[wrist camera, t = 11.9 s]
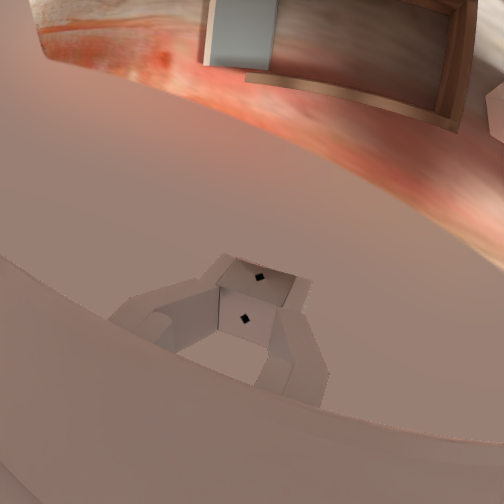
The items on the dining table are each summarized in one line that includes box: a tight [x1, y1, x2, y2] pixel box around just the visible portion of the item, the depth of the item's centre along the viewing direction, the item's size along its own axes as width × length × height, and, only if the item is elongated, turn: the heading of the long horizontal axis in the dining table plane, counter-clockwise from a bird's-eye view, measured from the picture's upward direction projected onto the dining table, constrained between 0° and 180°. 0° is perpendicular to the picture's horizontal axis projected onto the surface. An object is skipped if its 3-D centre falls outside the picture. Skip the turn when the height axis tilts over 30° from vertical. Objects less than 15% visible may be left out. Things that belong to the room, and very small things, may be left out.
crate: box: [245, 0, 478, 134], centre depth 24 cm, size 20×14×8 cm
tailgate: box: [203, 0, 278, 71], centre depth 30 cm, size 1×11×8 cm
